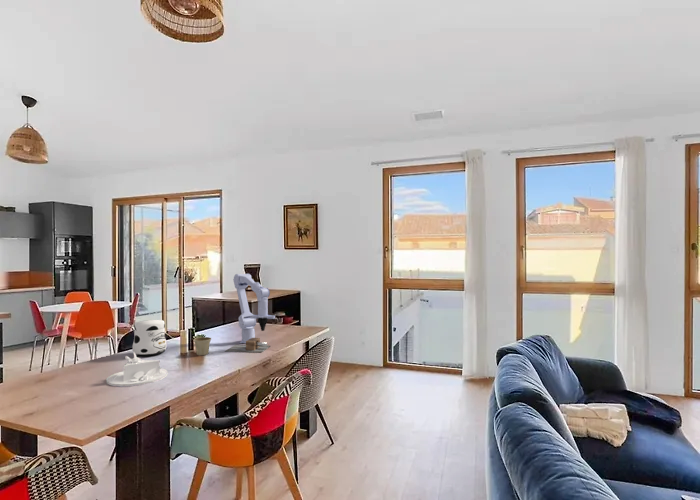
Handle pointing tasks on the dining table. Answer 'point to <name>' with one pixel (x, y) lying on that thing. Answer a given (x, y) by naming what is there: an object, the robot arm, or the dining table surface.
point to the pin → (261, 344)
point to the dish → (137, 373)
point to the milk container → (149, 337)
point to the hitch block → (248, 347)
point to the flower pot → (202, 345)
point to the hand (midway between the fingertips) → (262, 330)
